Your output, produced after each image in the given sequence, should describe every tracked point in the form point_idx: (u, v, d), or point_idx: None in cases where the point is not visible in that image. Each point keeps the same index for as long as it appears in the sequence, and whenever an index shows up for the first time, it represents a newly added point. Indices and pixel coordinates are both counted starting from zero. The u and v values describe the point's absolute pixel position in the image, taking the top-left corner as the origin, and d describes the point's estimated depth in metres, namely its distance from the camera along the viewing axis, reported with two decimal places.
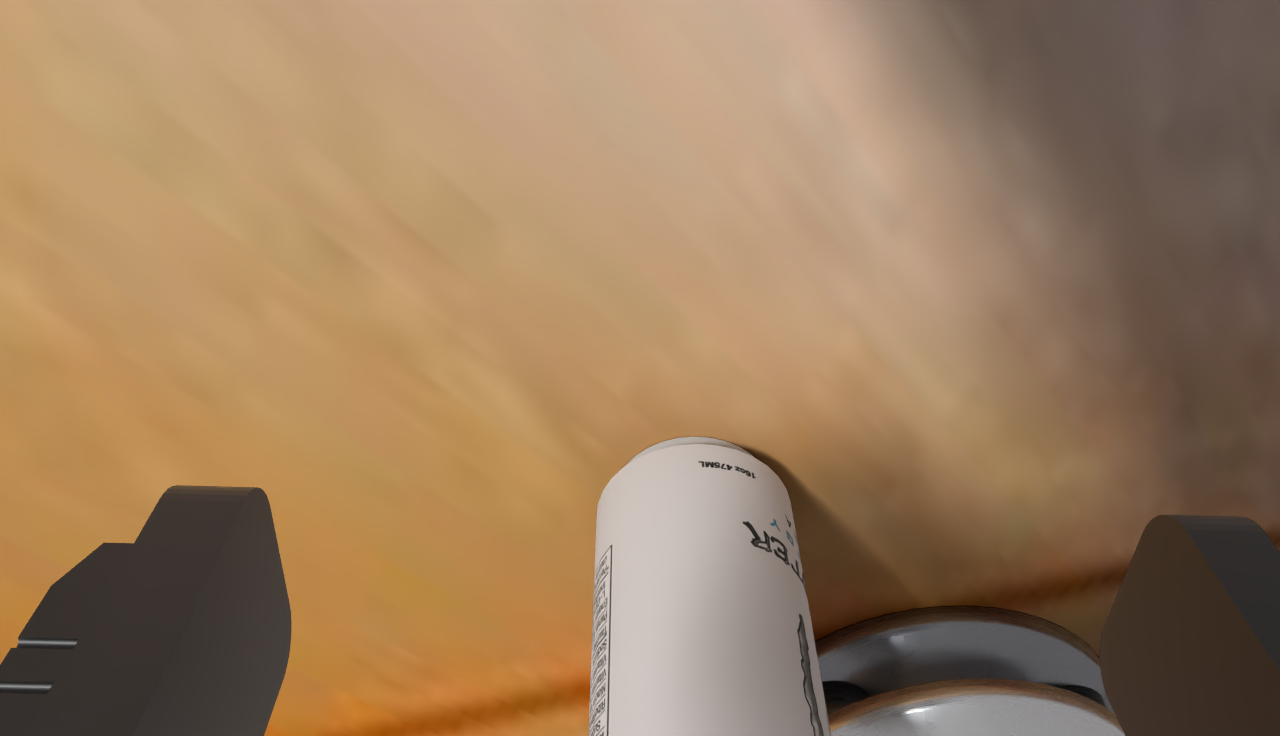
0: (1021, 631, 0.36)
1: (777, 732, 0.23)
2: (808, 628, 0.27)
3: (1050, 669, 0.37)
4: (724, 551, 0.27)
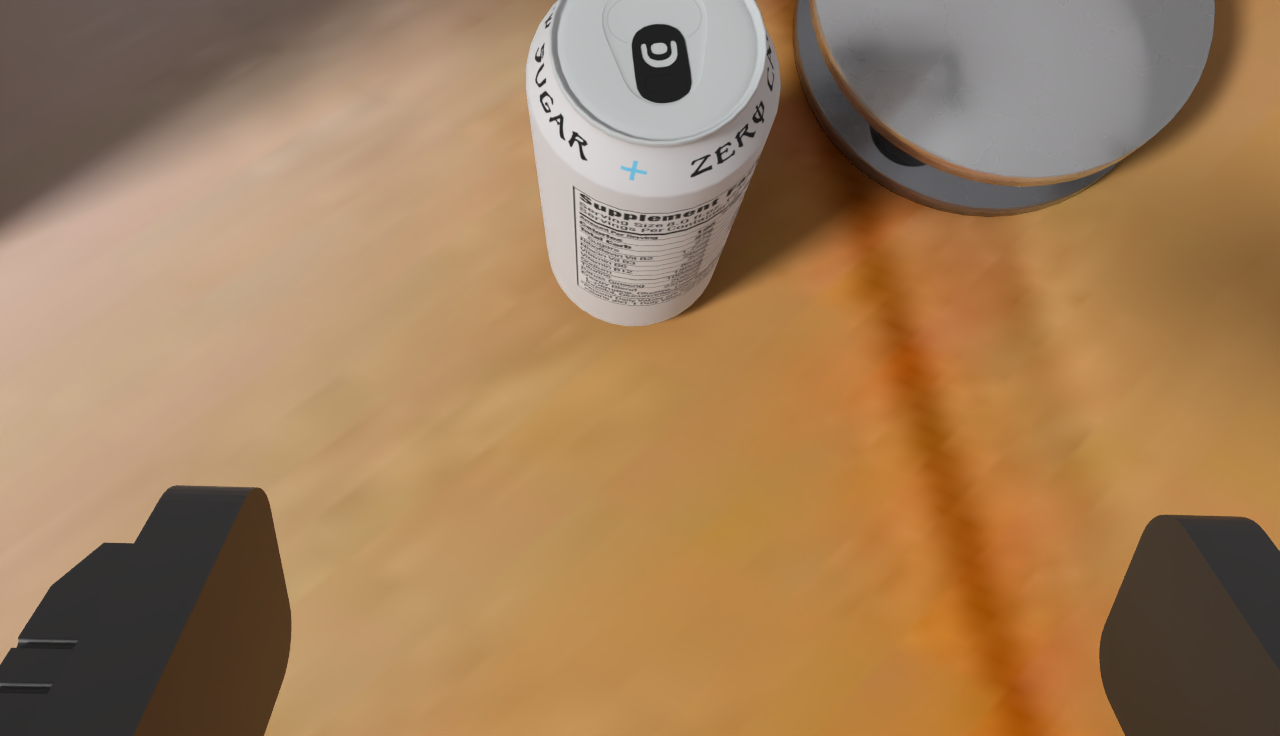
0: None
1: None
2: None
3: None
4: None
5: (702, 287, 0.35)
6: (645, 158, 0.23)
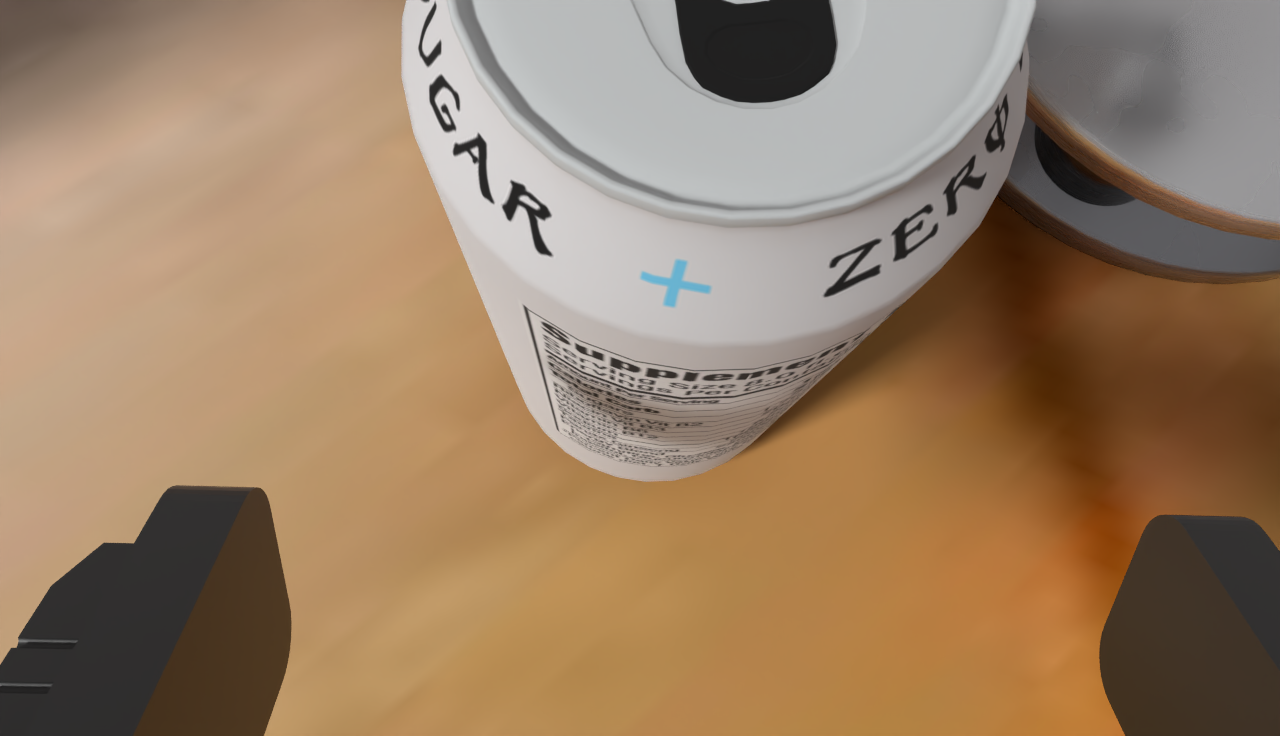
0: None
1: None
2: None
3: None
4: None
5: None
6: (709, 254, 0.08)
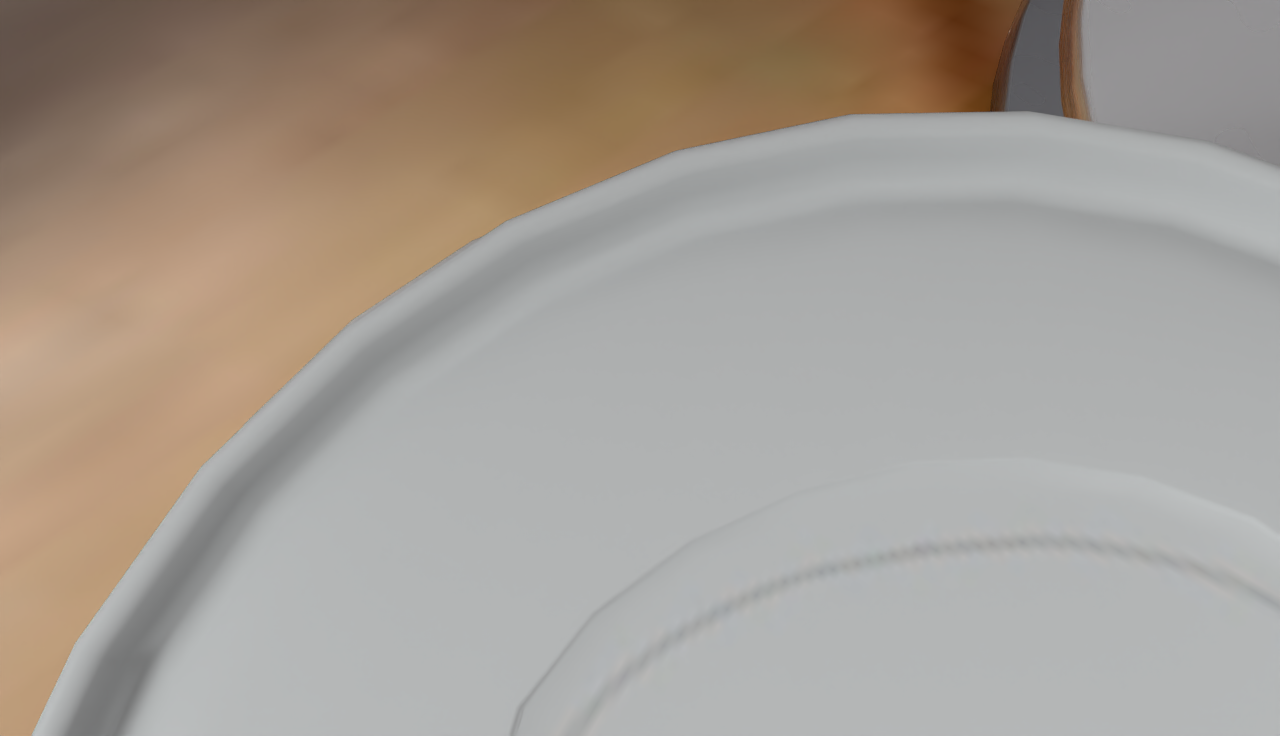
0: (1021, 21, 0.18)
1: None
2: None
3: None
4: None
5: None
6: None
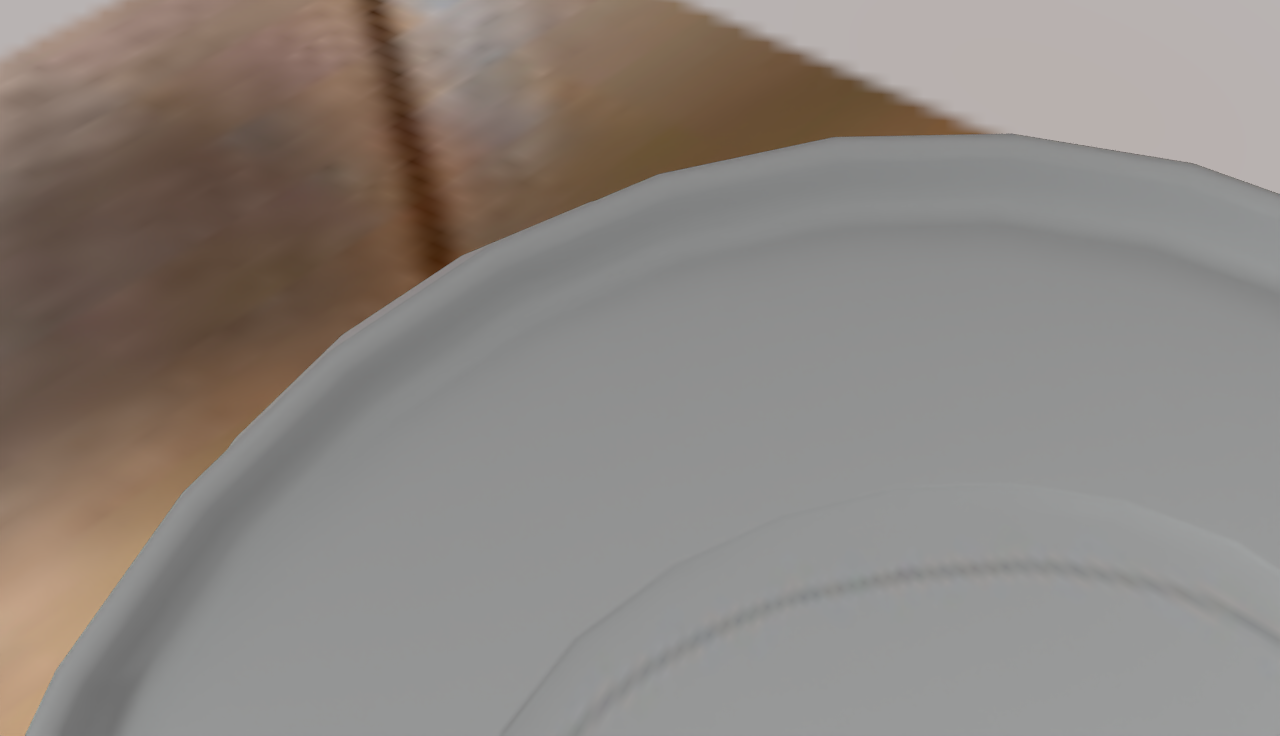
0: None
1: None
2: None
3: None
4: None
5: None
6: None
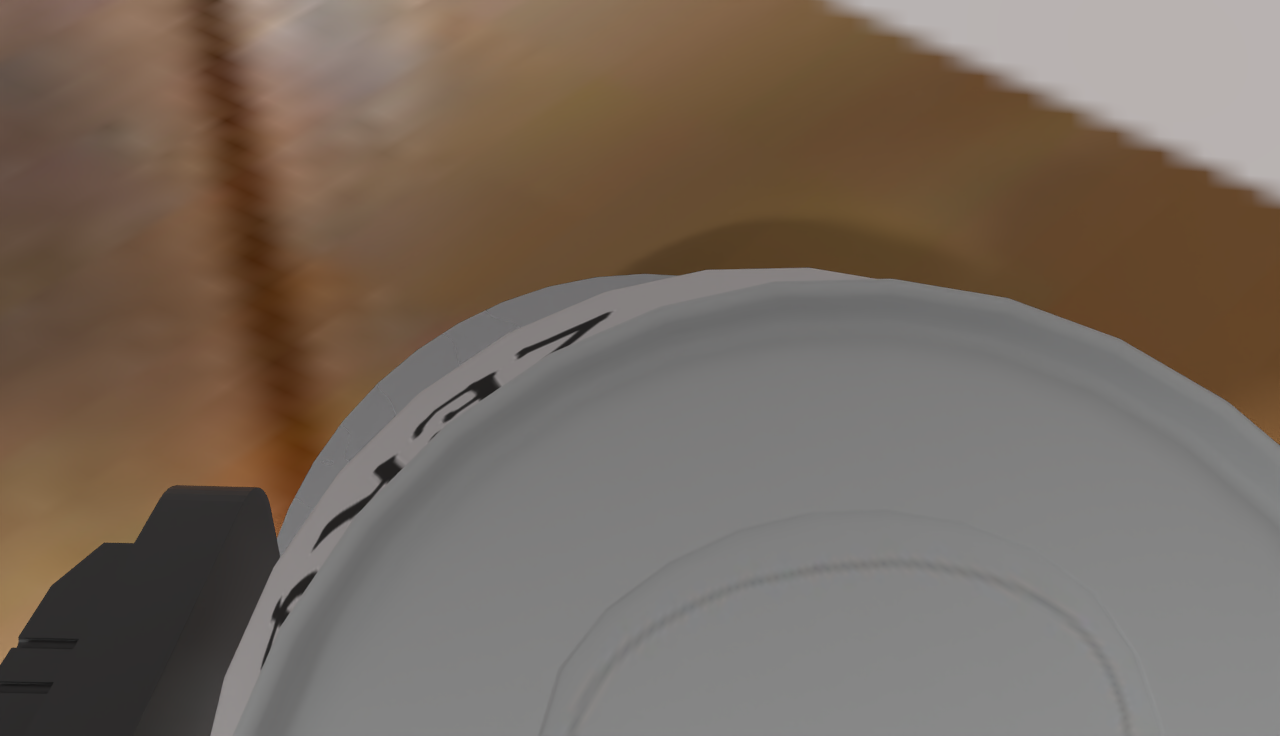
0: None
1: None
2: None
3: None
4: None
5: None
6: None
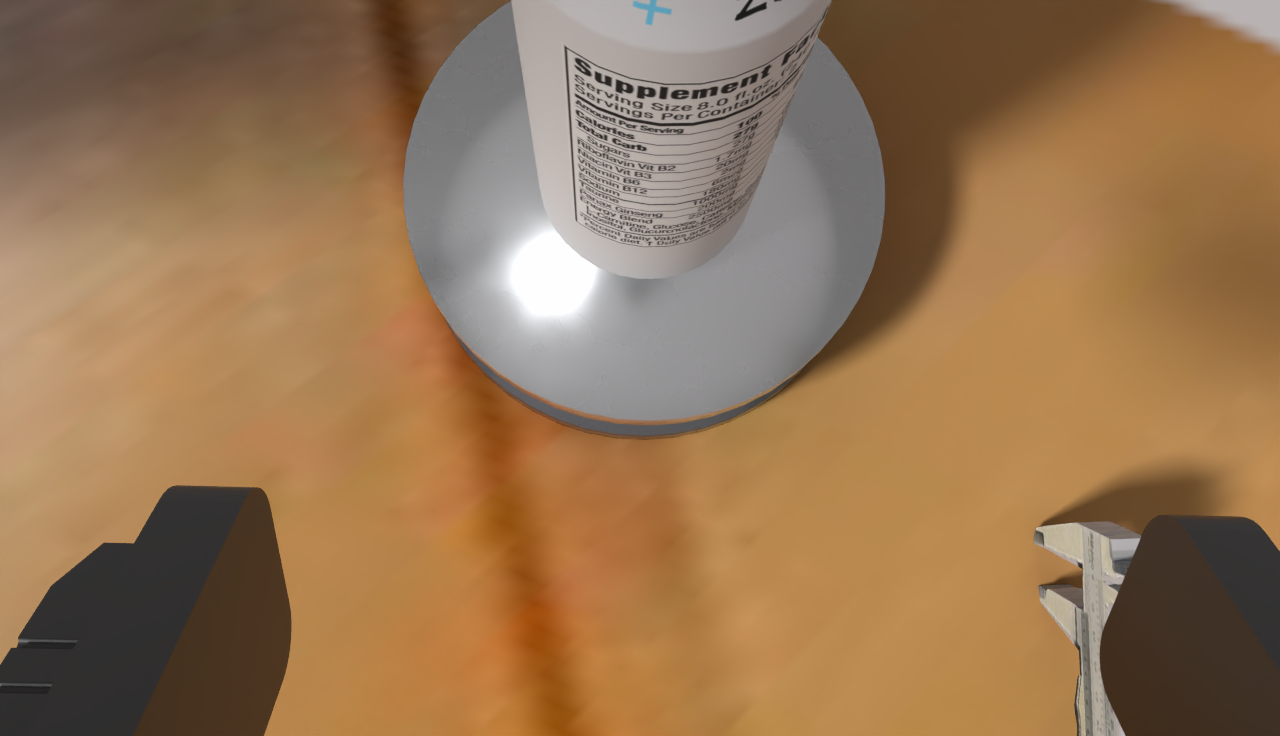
0: None
1: None
2: None
3: None
4: None
5: (734, 227, 0.28)
6: None
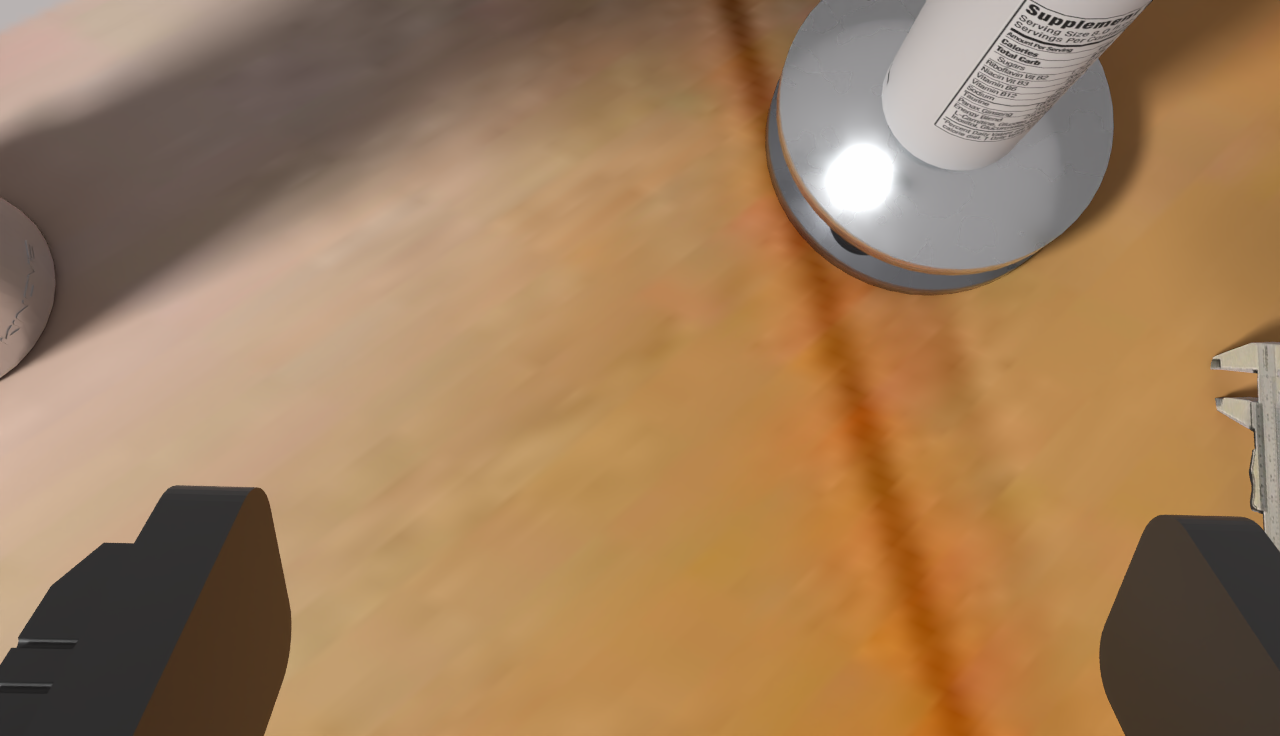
0: None
1: None
2: None
3: None
4: (913, 29, 0.38)
5: None
6: None
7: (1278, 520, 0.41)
